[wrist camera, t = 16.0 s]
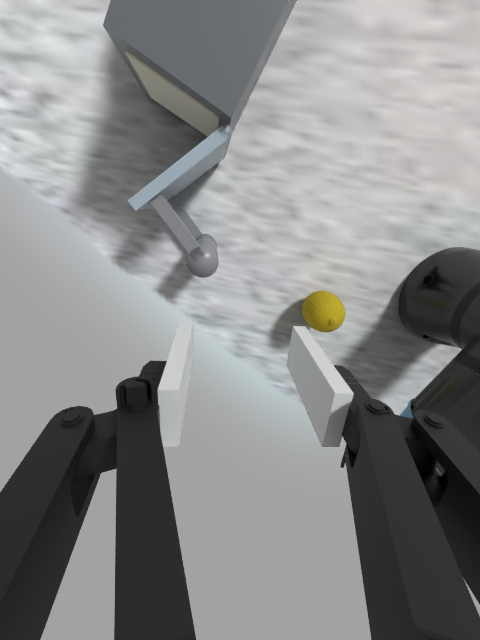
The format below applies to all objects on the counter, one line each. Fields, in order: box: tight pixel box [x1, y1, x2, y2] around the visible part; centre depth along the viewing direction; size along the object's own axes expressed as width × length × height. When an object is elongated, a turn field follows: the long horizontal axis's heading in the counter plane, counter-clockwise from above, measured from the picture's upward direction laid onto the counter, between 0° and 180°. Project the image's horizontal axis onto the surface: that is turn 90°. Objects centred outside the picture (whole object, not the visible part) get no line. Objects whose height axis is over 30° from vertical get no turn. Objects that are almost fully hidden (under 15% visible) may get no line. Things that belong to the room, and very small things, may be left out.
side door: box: [128, 124, 232, 277], centre depth 30 cm, size 10×10×12 cm
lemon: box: [302, 291, 345, 332], centre depth 40 cm, size 6×6×8 cm
